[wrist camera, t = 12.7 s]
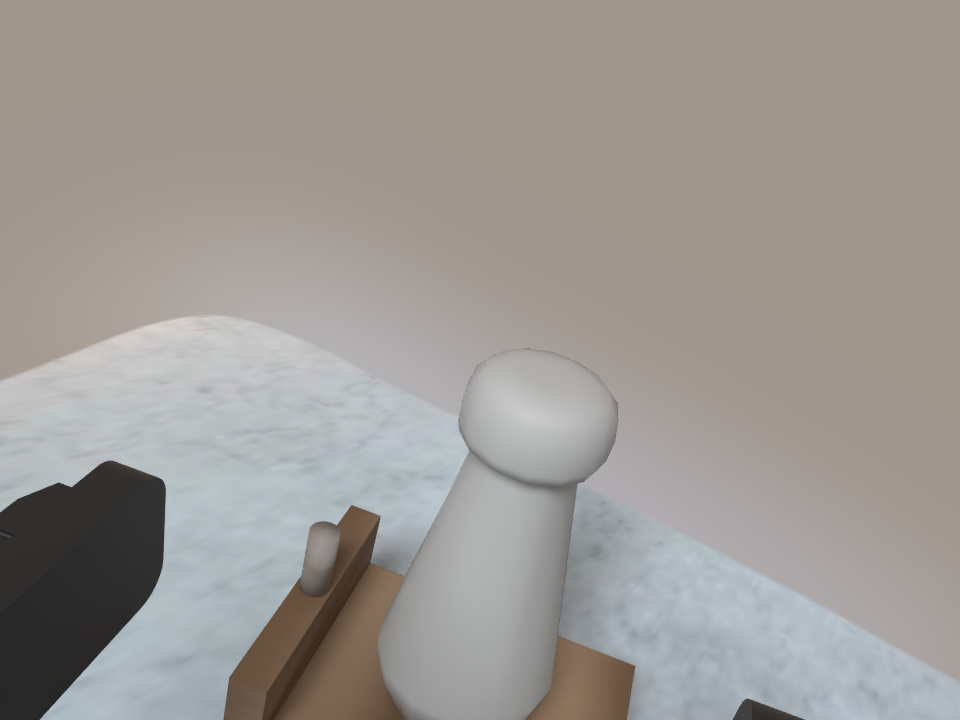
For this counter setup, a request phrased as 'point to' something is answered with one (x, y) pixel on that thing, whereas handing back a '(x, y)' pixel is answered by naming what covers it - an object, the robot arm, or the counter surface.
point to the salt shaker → (498, 544)
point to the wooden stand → (375, 645)
